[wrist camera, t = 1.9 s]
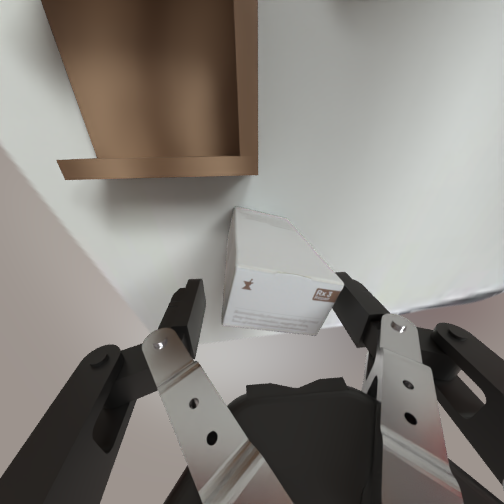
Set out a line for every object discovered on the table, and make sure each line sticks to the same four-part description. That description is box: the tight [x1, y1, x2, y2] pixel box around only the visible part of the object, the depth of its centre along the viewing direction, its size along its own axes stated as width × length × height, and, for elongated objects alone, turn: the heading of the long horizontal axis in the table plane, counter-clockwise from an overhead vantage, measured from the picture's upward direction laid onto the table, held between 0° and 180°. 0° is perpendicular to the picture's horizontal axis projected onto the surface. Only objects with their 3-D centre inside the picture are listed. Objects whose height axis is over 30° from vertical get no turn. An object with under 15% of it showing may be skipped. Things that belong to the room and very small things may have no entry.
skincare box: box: [222, 207, 344, 336], centre depth 15 cm, size 6×4×12 cm
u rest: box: [41, 0, 258, 180], centre depth 13 cm, size 13×12×5 cm
